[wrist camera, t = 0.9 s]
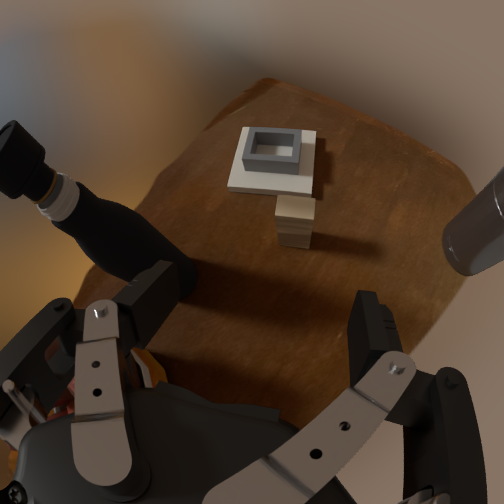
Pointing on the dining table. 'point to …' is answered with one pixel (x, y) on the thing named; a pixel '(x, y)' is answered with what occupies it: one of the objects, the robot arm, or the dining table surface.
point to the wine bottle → (87, 213)
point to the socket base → (274, 162)
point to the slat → (294, 220)
